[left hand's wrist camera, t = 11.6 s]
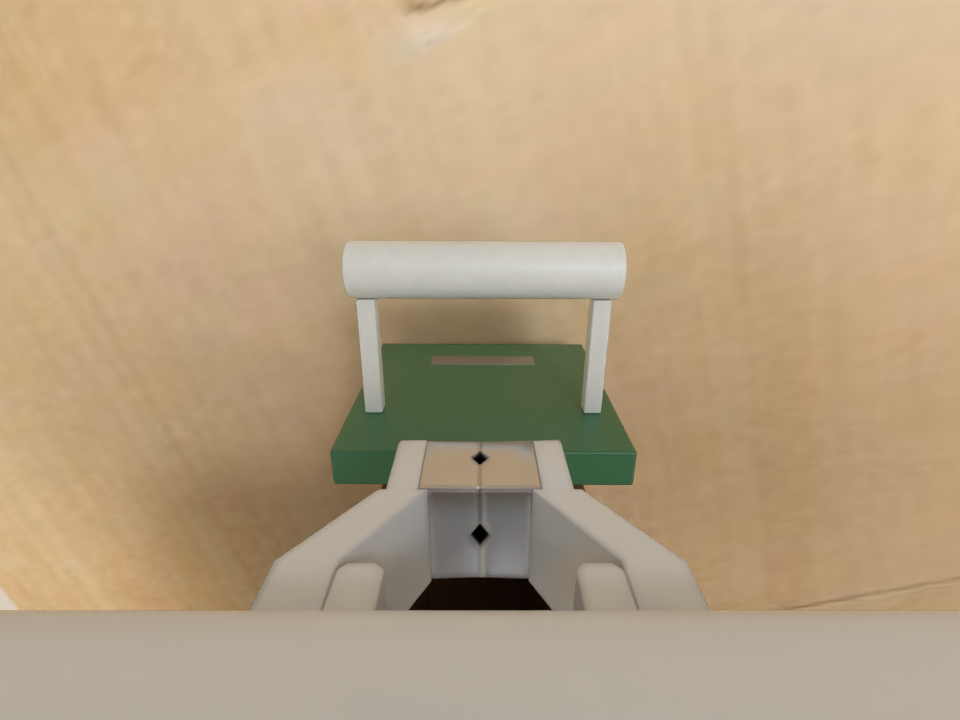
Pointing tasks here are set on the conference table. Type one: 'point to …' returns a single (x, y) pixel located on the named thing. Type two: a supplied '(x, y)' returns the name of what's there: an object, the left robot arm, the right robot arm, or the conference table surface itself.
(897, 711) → the left robot arm
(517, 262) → the drawer
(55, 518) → the conference table surface
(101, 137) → the conference table surface
